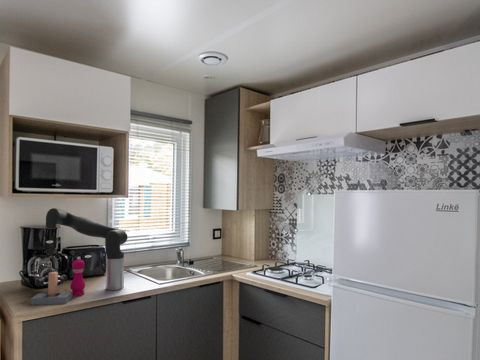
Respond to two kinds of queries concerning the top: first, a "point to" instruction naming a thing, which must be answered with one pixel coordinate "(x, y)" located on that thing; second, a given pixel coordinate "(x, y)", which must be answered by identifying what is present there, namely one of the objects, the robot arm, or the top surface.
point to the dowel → (52, 284)
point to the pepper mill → (78, 278)
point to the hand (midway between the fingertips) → (52, 282)
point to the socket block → (51, 298)
